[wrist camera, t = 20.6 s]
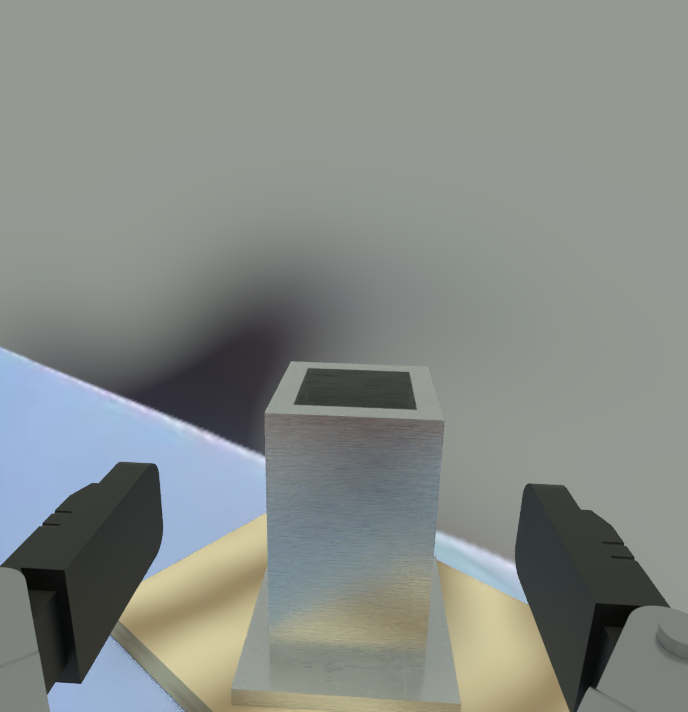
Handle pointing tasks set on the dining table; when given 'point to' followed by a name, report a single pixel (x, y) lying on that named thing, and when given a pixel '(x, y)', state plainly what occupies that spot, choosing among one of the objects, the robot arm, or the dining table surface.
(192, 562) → the base plate
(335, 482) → the sleeve
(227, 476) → the dining table surface
